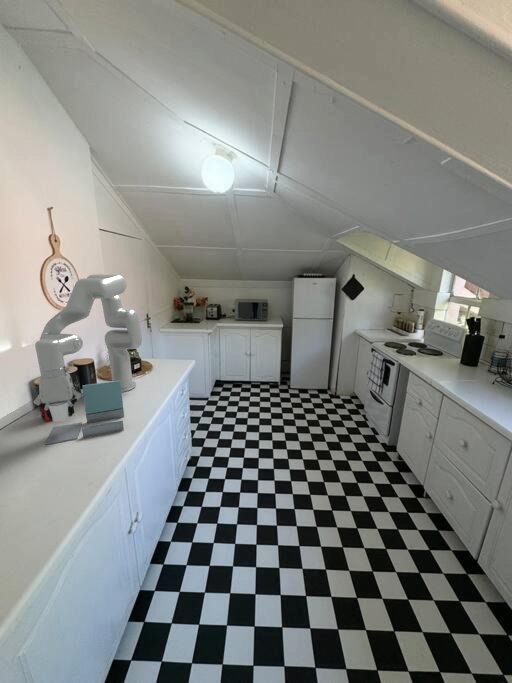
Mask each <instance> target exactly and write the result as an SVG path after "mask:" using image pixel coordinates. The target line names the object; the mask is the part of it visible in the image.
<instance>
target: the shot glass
mask: <svg viewBox="0 0 512 683" xmlns="http://www.w3.org/2000/svg"><path fill="white" fill-rule="evenodd" d="M48 406H49V410H50V412H51V416H52V419H53V421H52V422H55V423H60V422H64V421H65V422H66V421H67V420H69V419H70V418H71V416H69V412H68V407H69V405H68V402H66V401H60V402H53V403H50V404H49V405H48Z"/></svg>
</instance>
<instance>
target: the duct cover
mask: <svg viewBox="0 0 512 683" xmlns="http://www.w3.org/2000/svg"><path fill="white" fill-rule="evenodd" d="M82 393H83V394H82V395H83V400H84V408H85V415H86V414H90V413H96V412H102V411H108V410H114V409H120V408H123V409H124V402H123V392H122V391H121V382H120V381H107V382H100V383H99V382H98V383H97V382H96V383H91V384H85V385H82Z"/></svg>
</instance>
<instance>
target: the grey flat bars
mask: <svg viewBox="0 0 512 683" xmlns="http://www.w3.org/2000/svg"><path fill="white" fill-rule="evenodd" d="M124 417H125V411H124V407H123V408H120V409H114V410H108V411H102V412H96V413H90V414H86V413H85V418H86V419H85V420H86V423H87V424H91V423H96V422H98V423H99V422H104V421H107V420H108V421H109V420H114V419H120V418H124ZM124 430H125V429H124V420H118V421H117V420H116V421H113V422H108V423H107V422H106V423H102V424H101V423H100V424H95V425H91V426H84V427H81V431H82V438H84V439H86V438H90V437H95V436H100V435H106V434H110V433H111V434H112V433H116V432H121V431H124Z"/></svg>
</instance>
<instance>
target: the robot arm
mask: <svg viewBox="0 0 512 683" xmlns="http://www.w3.org/2000/svg"><path fill="white" fill-rule="evenodd" d="M126 289H127V281H126V279H125V277H124V276H122V275H120V274H101V273H99V274H98V273H97V274H95V273H94V274H90V275H88V276H87V277H86V278H85V277H84V278H80V279H78V280H77V281H76V282H75V283H74V286H73V289H72V290H71V293H70V295H69V297H68V300H67V303H66V306H65V307H64V308H63V309H62V310H61V311H59V312H58V313H56V314H55V315H53V317H51V318H50V319H49V320H48V321H47V323H46V324H45V325H44V328H43V329H42V332H41V334H40V337H39V340H37V341H36V342H35V344H34V346H35V352H36V357H37V362H38V363H37V364H38V368H39V372H40V376H39V378H38V381H39V382H38V389H39V391H38V392H39V394H40V395H39V394H38V395H39V396H38V395H37V397H36V398H35V399H34V400H33V404H34V405H36V406H38V407H39V406H40V407H41V408H43V409H44V410H46V413H47V417H49V420H51V419H52V416H51V412H50V410H49V406H48V405H49V404H50V403H53V402H60V401H66V402H68V405H69V407H68V412H69V416H70V417H72V416H73V414H74V413H75V407H74V405H75V404H76V403H77V401H78V400H80V399H81V397H82V396H83V394H82V393H80V392H79V391H78V390H76V389H74V384H73V380H72V377H71V375H70V371H71V368H70V367H68V366H66V365H65V359H64V357H65V356H68V355H73V354H76V353H78V352H79V351H80V350H81V349H82V348H83V344H84V342H83V339H82V337H80V336H79V335H77V334H74V333H73V334H71V333H62V331H63V330H64V329H65V328H67V327H68V326H70V325H72V324H75V323H77V322H79V321H82V320H84V319H86V318H89V316H90V313H91V310H92V308H93V304H94V303H95V300H96V299H97V300H98V299H100V301H101V305H102V310H103V317H104V318H103V319H104V321H105V324H106V326H108V327H109V328H113V329H111V330H108V331H106V333H105V335H104V343H105V345H106V348H107V353H108V358H109V366H110V370H111V371H110V372H111V380H112V381H120V382H121V391H122V393H123V392H125V393H126V392H129V391H132V390H133V389H135V388H136V387H137V383H136V382H135V381H133V377H132V376H133V375H132V364H131V356H130V353H129V351H128V350H129V349H131V350H134V349H135V350H136V349H139V348H140V347H141V346H142V341H143V339H142V338H143V337H142V329H141V321H140V316H139V314H138V312H137V311H136V310H134V309H133V308H132V309H131V308H123V305H122V299H121V297H120V295H122V294H123V293H124V292H125V291H126ZM114 328H116V329H114ZM117 328H119V329H117ZM127 349H128V350H127ZM112 381H111V382H112ZM73 396H75V397H73ZM40 399H41V401H40ZM40 407H39V408H40Z"/></svg>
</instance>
